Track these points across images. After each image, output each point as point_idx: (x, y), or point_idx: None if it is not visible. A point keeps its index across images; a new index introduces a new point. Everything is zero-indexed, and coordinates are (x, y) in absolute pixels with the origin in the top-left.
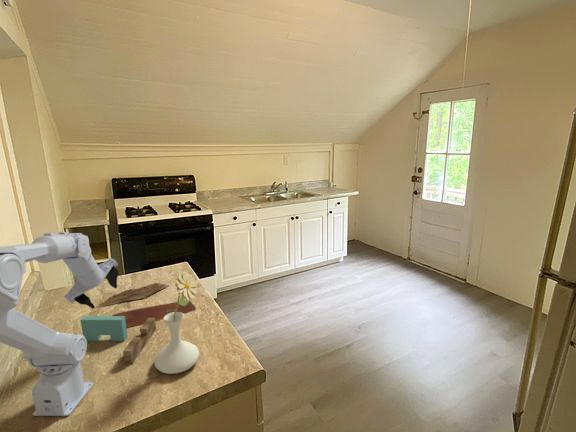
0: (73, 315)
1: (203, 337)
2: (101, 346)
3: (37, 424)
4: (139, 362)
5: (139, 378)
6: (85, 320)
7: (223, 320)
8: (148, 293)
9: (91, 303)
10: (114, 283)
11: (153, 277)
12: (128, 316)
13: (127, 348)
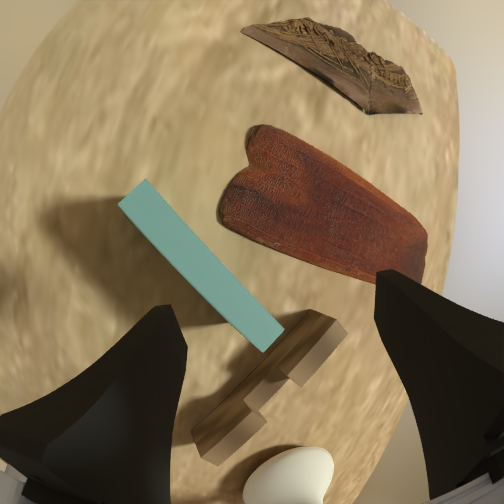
0: (168, 21)
1: (362, 419)
2: (159, 300)
3: None
4: None
5: (202, 483)
6: (136, 224)
7: None
8: (380, 98)
9: (170, 416)
10: (404, 381)
11: (402, 41)
12: (296, 186)
13: (215, 452)
